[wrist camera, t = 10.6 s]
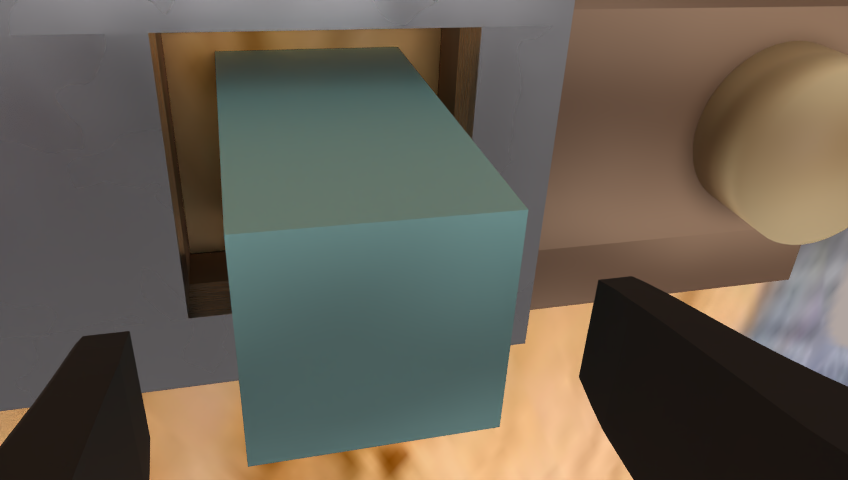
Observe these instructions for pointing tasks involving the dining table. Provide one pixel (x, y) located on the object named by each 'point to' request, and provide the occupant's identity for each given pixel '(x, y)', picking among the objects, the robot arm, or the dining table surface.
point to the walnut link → (677, 145)
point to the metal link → (154, 175)
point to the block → (360, 254)
